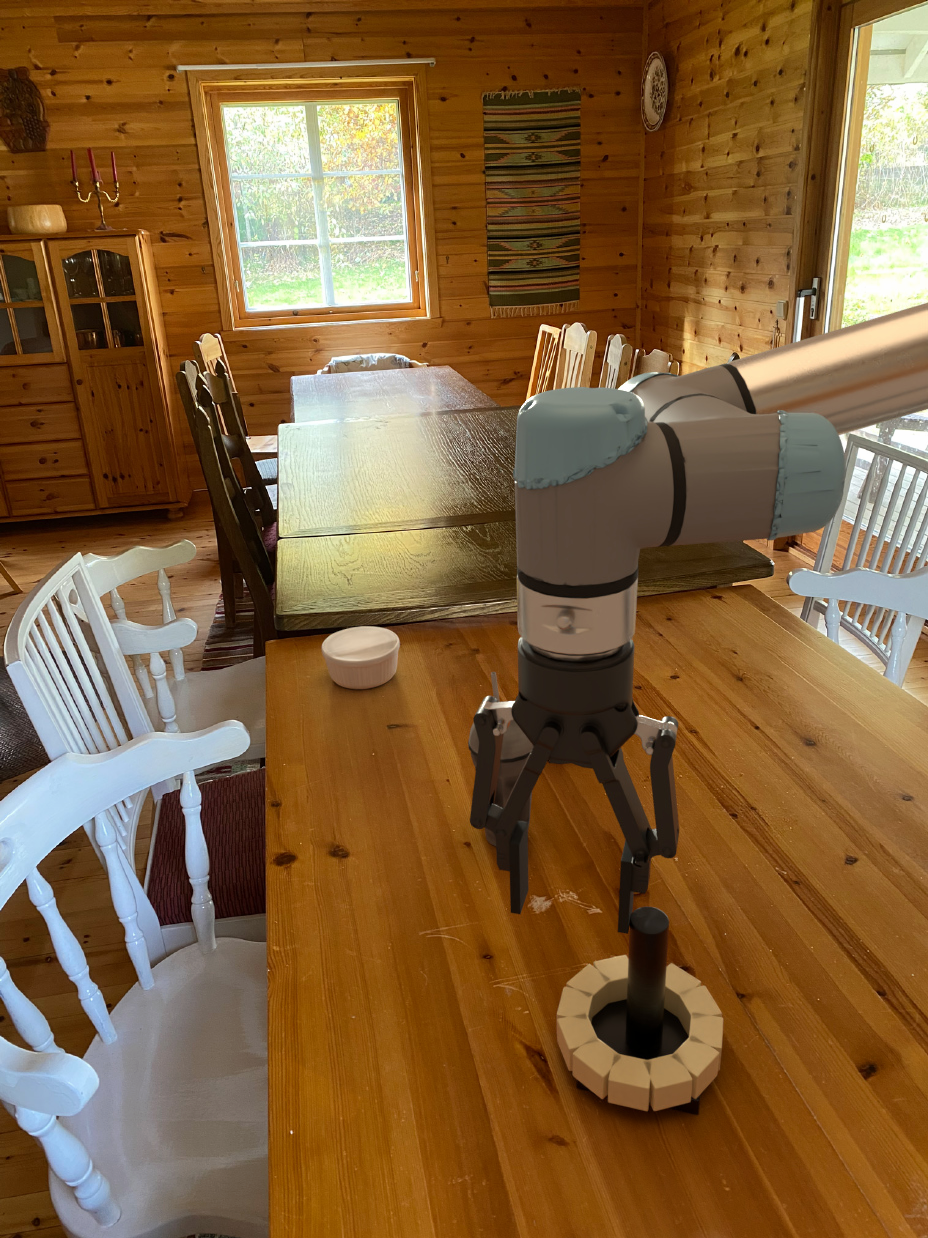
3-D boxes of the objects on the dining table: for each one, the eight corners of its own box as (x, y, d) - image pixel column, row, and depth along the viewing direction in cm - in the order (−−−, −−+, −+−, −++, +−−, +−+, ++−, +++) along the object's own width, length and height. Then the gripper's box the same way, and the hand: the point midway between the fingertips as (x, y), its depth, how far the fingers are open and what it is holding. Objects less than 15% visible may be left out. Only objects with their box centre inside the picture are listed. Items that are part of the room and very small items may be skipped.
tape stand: (704, 1018, 75) (716, 888, 69) (698, 1115, 67) (710, 977, 61) (595, 997, 77) (597, 870, 72) (576, 1088, 69) (577, 953, 64)
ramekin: (371, 700, 125) (368, 666, 123) (308, 683, 131) (304, 650, 129) (417, 667, 134) (414, 634, 132) (356, 652, 139) (353, 620, 137)
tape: (724, 993, 75) (726, 971, 74) (716, 1128, 64) (718, 1104, 63) (574, 965, 79) (574, 944, 78) (543, 1088, 68) (543, 1065, 67)
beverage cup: (554, 831, 98) (553, 664, 89) (511, 866, 93) (506, 693, 85) (502, 806, 102) (496, 645, 94) (458, 838, 97) (448, 671, 89)
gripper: (408, 647, 58) (428, 921, 68) (737, 680, 53) (707, 974, 63) (444, 600, 65) (457, 857, 75) (740, 626, 59) (713, 899, 69)
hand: (571, 910), depth 69 cm, fingers open, 7 cm apart
